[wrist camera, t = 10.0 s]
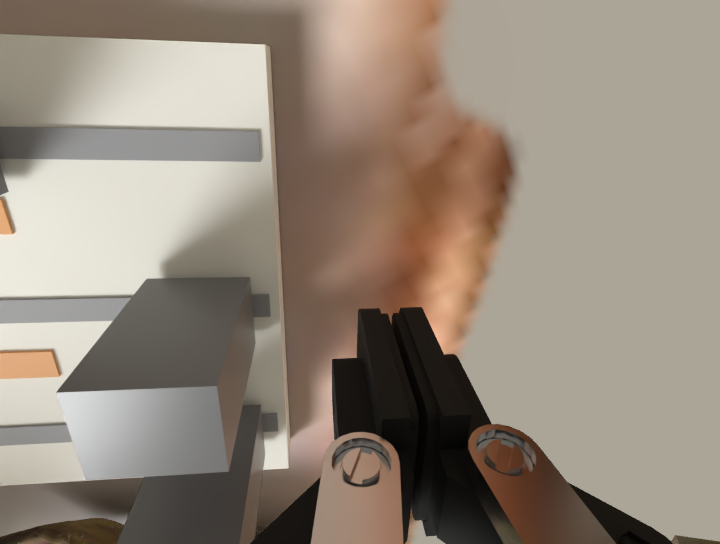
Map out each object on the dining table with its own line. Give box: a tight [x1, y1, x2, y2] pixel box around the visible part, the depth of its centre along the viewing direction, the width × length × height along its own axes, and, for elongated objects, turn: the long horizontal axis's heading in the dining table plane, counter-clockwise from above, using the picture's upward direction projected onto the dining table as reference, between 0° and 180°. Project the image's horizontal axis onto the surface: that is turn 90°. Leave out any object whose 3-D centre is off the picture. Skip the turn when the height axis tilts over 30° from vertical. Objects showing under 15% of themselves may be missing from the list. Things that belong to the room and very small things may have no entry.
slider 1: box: [56, 277, 256, 480], centre depth 11 cm, size 2×3×5 cm
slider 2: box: [117, 405, 265, 544], centre depth 13 cm, size 2×3×5 cm
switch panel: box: [0, 34, 290, 486], centre depth 14 cm, size 15×11×2 cm
